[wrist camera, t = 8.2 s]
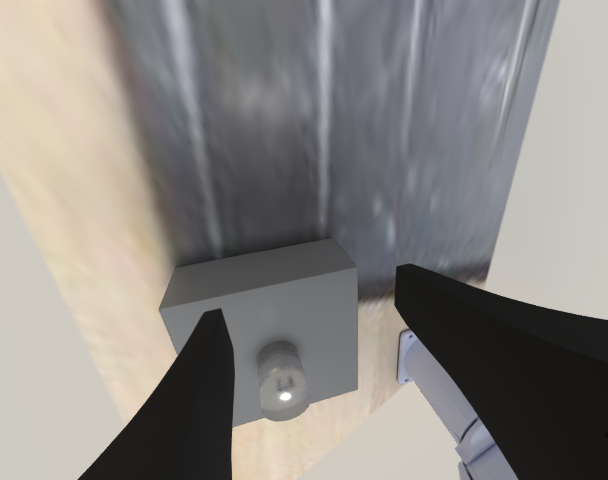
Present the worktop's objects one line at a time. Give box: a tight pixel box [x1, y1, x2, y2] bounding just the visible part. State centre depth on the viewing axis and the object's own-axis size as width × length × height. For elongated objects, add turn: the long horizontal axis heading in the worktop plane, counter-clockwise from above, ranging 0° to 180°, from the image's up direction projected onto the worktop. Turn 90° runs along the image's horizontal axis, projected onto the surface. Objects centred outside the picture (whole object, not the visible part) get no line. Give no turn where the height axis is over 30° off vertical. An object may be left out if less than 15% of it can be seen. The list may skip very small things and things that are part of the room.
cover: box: [159, 238, 358, 427], centre depth 19 cm, size 12×12×8 cm
